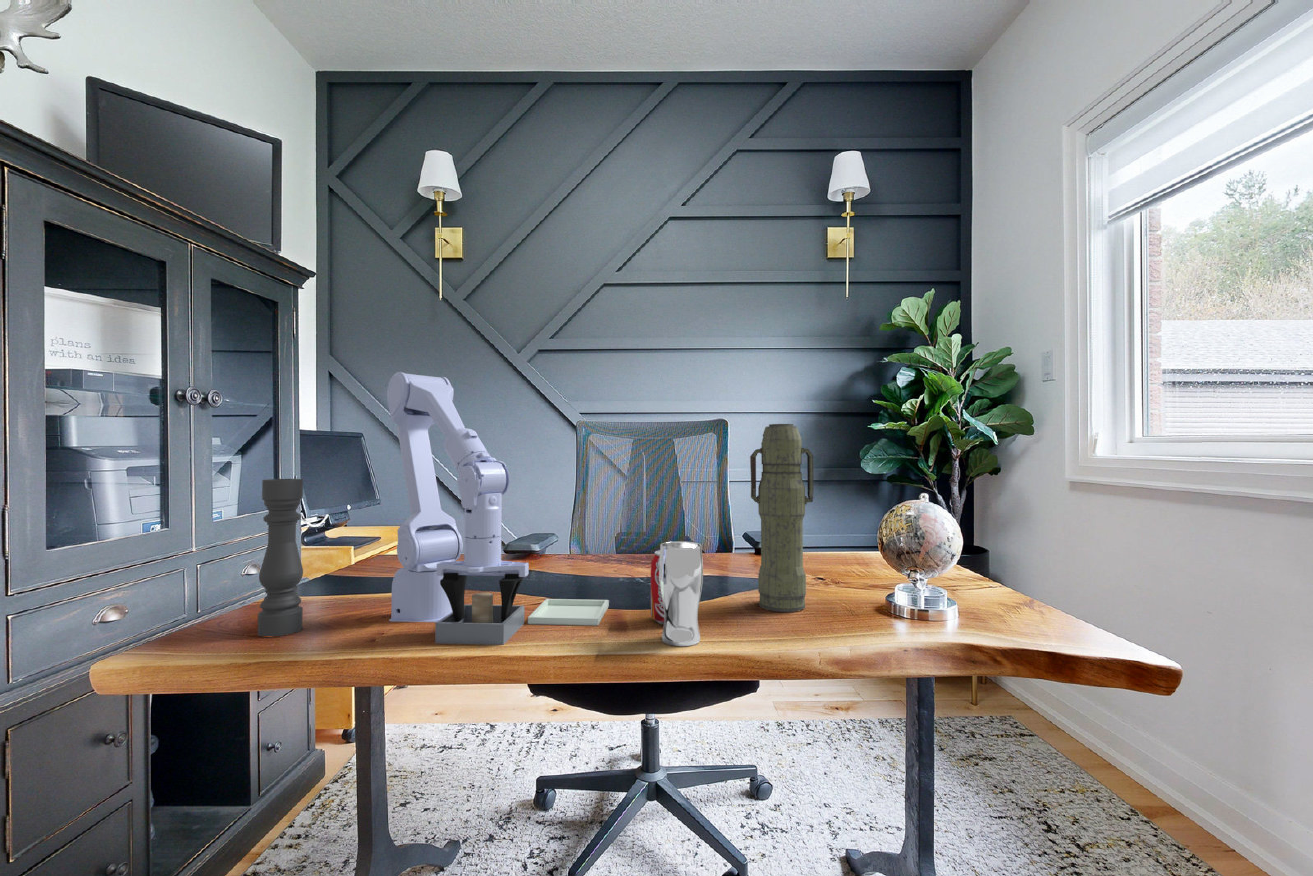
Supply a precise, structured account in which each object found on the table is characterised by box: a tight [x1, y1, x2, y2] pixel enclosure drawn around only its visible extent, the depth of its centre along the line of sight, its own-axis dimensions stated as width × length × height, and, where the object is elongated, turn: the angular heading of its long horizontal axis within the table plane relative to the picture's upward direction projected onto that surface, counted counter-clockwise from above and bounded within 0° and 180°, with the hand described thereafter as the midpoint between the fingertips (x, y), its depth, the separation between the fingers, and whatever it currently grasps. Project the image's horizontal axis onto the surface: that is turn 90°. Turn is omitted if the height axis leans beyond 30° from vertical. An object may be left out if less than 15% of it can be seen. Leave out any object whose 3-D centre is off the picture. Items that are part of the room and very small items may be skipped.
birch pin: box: [471, 592, 494, 623], centre depth 91 cm, size 3×3×6 cm
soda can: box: [650, 549, 664, 626], centre depth 99 cm, size 7×7×12 cm
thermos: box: [749, 423, 814, 613], centre depth 109 cm, size 9×12×35 cm
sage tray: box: [527, 598, 610, 626], centre depth 101 cm, size 12×12×2 cm
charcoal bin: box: [434, 603, 525, 646], centre depth 91 cm, size 11×11×4 cm
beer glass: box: [659, 540, 704, 647], centre depth 89 cm, size 7×7×15 cm
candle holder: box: [257, 478, 304, 637], centre depth 93 cm, size 6×6×25 cm
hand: (482, 620), depth 91 cm, fingers open, 7 cm apart
